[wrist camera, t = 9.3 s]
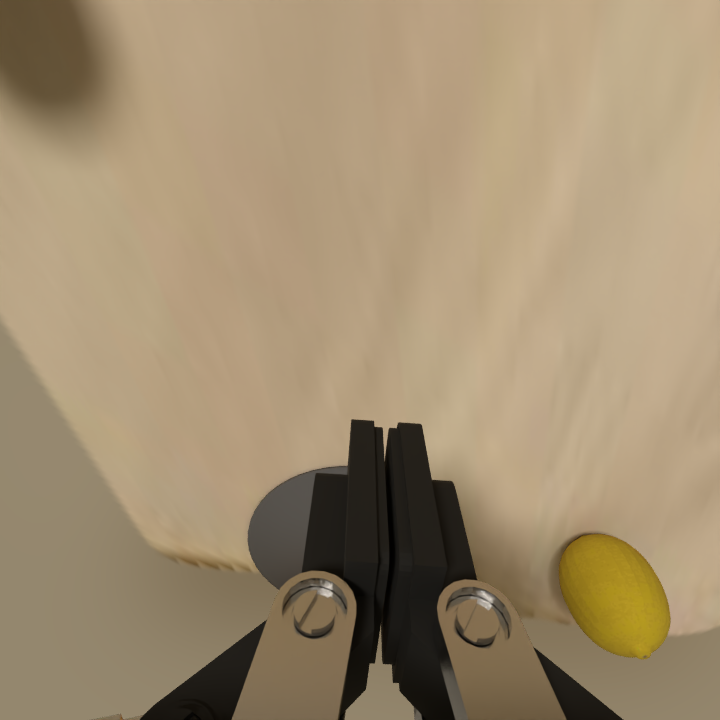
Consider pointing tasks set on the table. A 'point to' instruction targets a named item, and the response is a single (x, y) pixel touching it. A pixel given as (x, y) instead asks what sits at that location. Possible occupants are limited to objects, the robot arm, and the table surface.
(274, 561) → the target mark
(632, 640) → the lemon
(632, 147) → the table surface
